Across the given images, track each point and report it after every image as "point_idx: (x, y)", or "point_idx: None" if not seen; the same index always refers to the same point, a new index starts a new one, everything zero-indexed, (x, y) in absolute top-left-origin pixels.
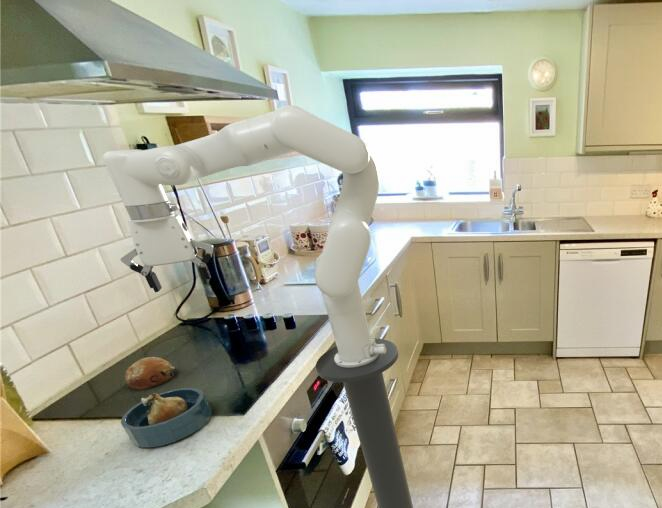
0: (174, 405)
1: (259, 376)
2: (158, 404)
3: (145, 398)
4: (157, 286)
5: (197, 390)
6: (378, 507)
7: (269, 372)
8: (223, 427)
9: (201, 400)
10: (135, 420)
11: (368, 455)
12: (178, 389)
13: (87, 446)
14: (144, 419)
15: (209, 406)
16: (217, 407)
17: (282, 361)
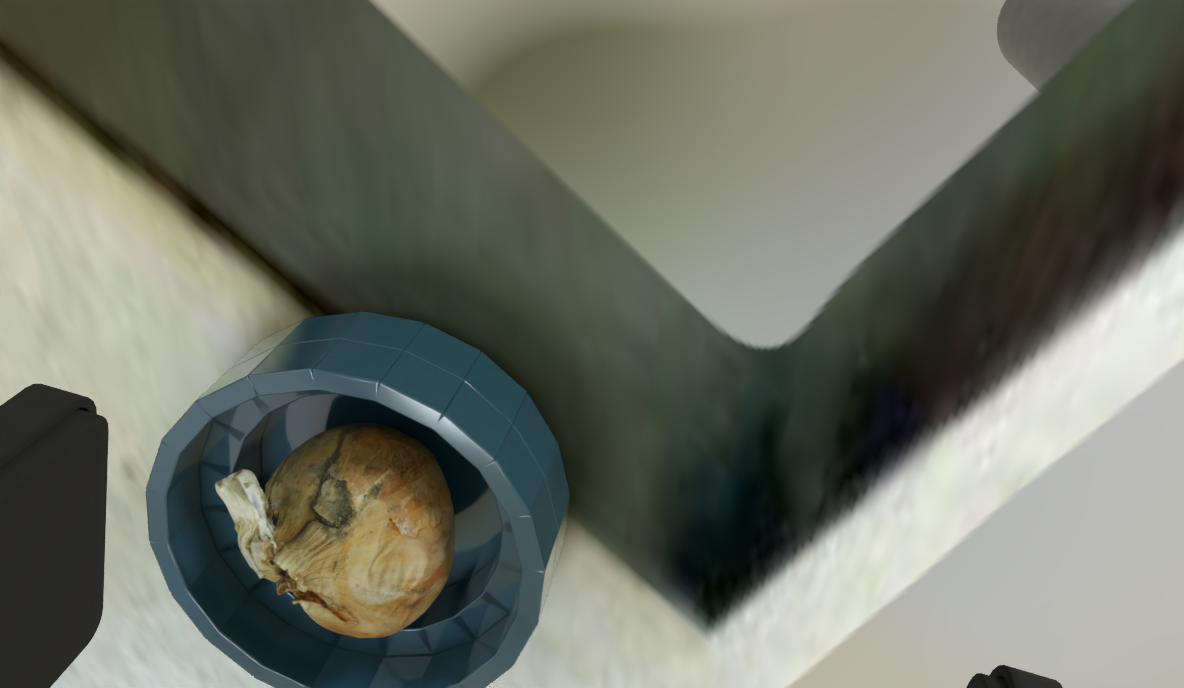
0: (394, 626)
1: (915, 257)
2: (315, 616)
3: (236, 485)
4: (45, 648)
5: (514, 511)
6: (1062, 63)
7: (995, 251)
8: (602, 656)
9: (527, 641)
10: (207, 438)
11: None
12: (407, 404)
13: (20, 334)
14: (248, 437)
15: (562, 523)
16: (601, 452)
17: (1156, 136)
